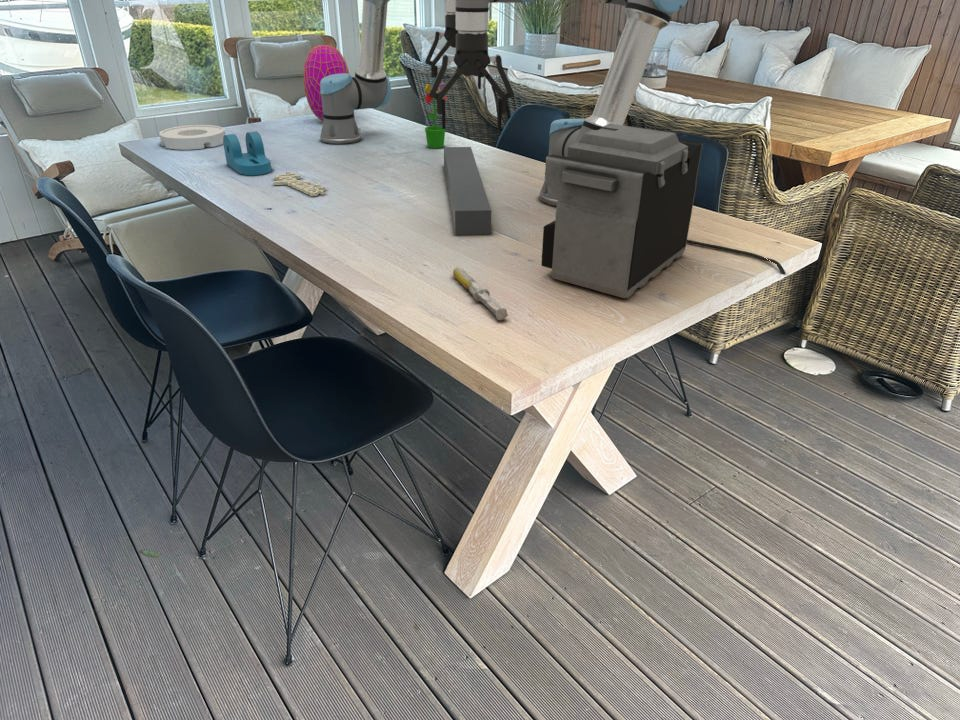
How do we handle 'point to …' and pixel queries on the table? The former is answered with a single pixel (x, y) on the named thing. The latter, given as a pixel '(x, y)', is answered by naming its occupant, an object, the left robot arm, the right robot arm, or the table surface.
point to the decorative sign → (299, 184)
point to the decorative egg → (321, 73)
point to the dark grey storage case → (619, 207)
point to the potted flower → (434, 133)
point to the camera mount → (246, 154)
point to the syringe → (479, 293)
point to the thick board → (466, 192)
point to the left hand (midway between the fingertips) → (457, 88)
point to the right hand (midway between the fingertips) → (471, 127)
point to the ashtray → (192, 137)
